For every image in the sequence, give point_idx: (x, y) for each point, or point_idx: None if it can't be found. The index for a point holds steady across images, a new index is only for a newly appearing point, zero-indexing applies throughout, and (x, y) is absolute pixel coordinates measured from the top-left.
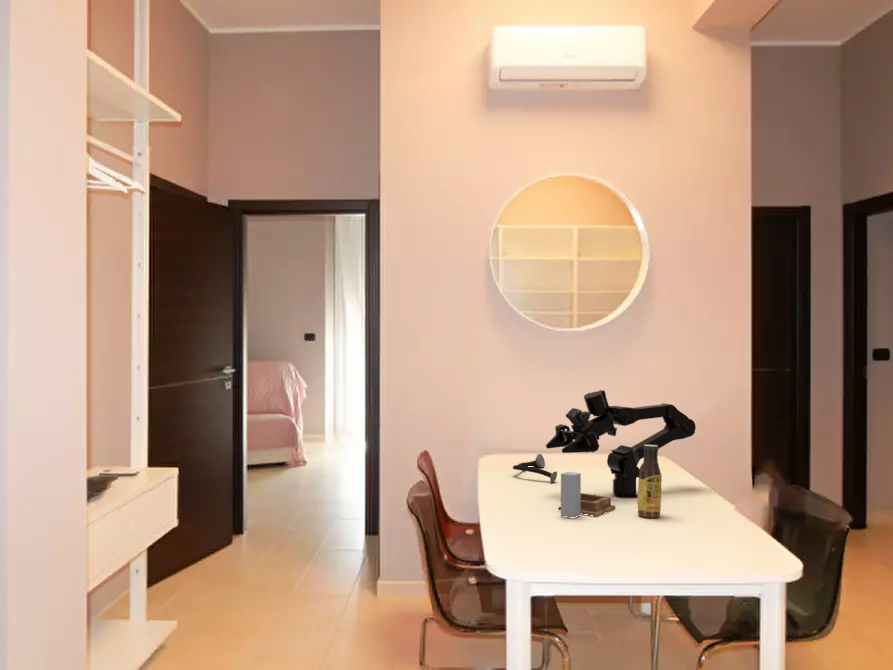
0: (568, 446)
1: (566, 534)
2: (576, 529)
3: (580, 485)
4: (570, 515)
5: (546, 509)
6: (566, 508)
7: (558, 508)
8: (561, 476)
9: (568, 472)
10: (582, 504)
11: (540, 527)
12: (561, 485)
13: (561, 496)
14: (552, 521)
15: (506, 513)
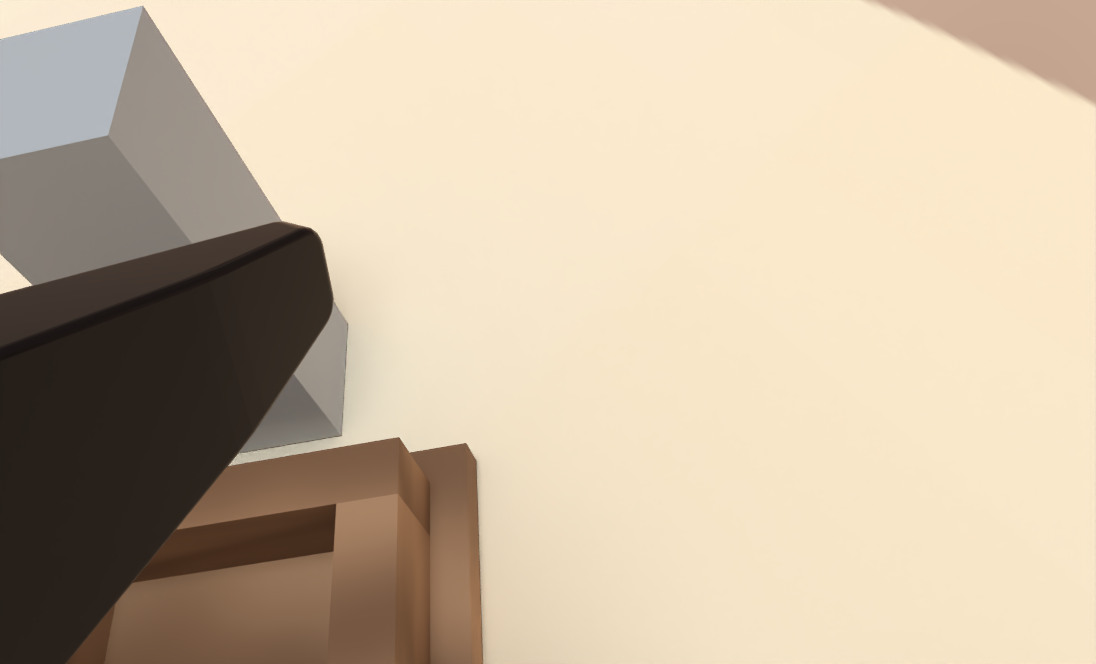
0: (78, 287)
1: None
2: None
3: (28, 277)
4: None
5: (605, 423)
6: None
7: (467, 447)
8: (154, 36)
9: (85, 107)
10: None
11: (324, 53)
12: (208, 119)
13: (263, 204)
14: (332, 188)
15: (758, 96)
